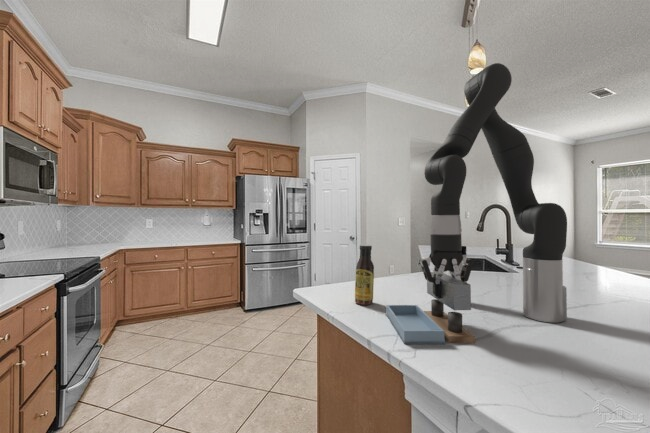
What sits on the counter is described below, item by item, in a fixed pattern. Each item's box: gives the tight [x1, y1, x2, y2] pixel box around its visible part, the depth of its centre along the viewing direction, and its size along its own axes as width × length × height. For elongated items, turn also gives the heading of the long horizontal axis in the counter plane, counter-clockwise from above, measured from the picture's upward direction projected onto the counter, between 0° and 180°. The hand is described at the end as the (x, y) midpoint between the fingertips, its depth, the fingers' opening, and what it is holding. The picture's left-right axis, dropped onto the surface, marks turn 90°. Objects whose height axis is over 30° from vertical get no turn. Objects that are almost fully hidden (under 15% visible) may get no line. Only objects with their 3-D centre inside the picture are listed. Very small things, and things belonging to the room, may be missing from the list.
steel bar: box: [426, 271, 472, 311], centre depth 74 cm, size 4×16×6 cm, turn 2°
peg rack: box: [423, 298, 476, 344], centre depth 74 cm, size 6×18×6 cm, turn 0°
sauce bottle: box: [354, 244, 375, 306], centre depth 97 cm, size 6×6×20 cm
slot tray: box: [385, 304, 446, 345], centre depth 74 cm, size 9×20×3 cm, turn 0°
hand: (446, 297), depth 74 cm, fingers closed on steel bar, 4 cm apart
